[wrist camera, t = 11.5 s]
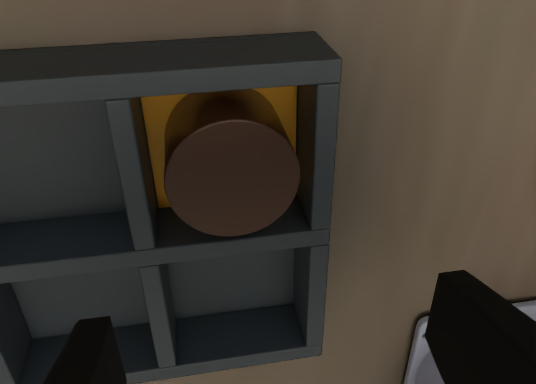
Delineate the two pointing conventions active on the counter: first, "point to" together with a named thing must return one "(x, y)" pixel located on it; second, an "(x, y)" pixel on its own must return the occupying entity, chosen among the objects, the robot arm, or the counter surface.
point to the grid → (156, 208)
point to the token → (228, 162)
